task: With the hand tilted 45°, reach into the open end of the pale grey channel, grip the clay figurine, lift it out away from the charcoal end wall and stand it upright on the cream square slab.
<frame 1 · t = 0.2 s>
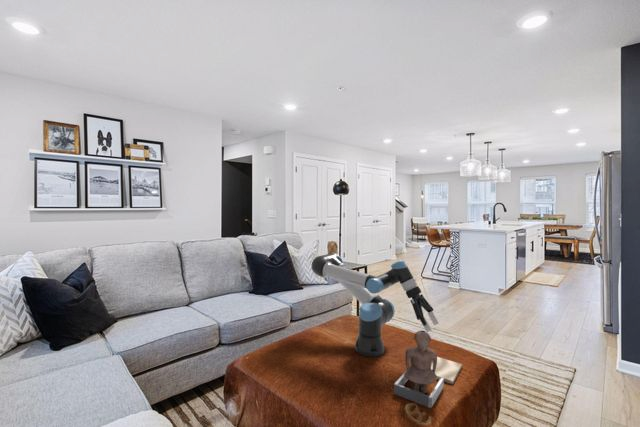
hand: (433, 327, 160), 15 cm above the table, tool tilted 35°, fingers open, 13 cm apart
grey channel: (419, 390, 133), on the table
clay figurine: (419, 390, 133), on the table
cream square slab: (439, 369, 149), on the table
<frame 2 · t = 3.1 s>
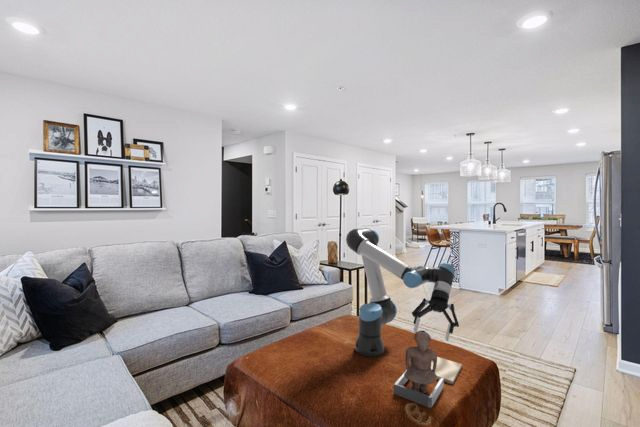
hand: (430, 335, 138), 21 cm above the table, tool tilted 45°, fingers open, 13 cm apart
nothing on the table moved.
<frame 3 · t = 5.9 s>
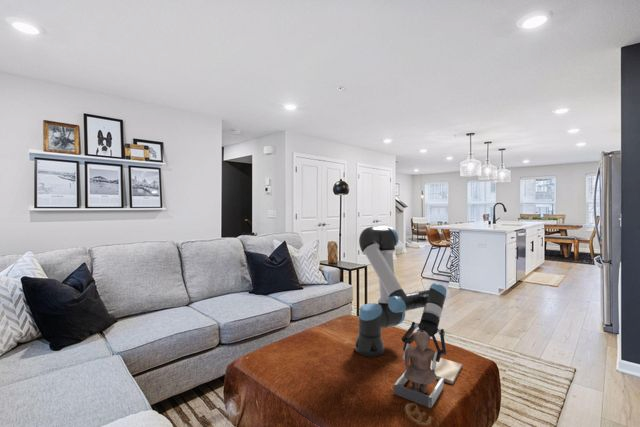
hand: (418, 364, 130), 12 cm above the table, tool tilted 45°, fingers closed on clay figurine, 11 cm apart
clay figurine: (419, 390, 133), on the table, touching gripper
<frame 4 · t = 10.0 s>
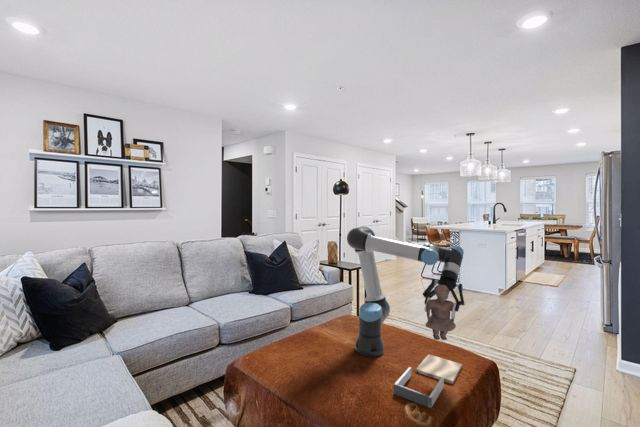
hand: (438, 313, 144), 28 cm above the table, tool tilted 45°, fingers closed on clay figurine, 11 cm apart
clay figurine: (439, 338, 147), point 16 cm above the table, touching gripper
when the fingers open (15 cm above the table, at t = 14.1 s): clay figurine drops 1 cm, resting on cream square slab.
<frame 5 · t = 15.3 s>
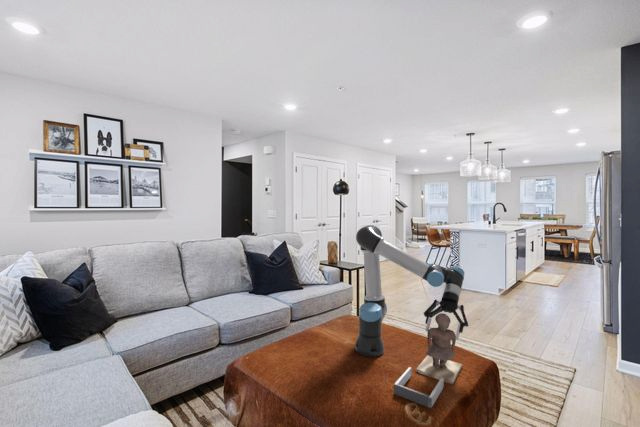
hand: (441, 334, 148), 17 cm above the table, tool tilted 45°, fingers open, 13 cm apart
clay figurine: (439, 366, 149), point 1 cm above the table, touching cream square slab
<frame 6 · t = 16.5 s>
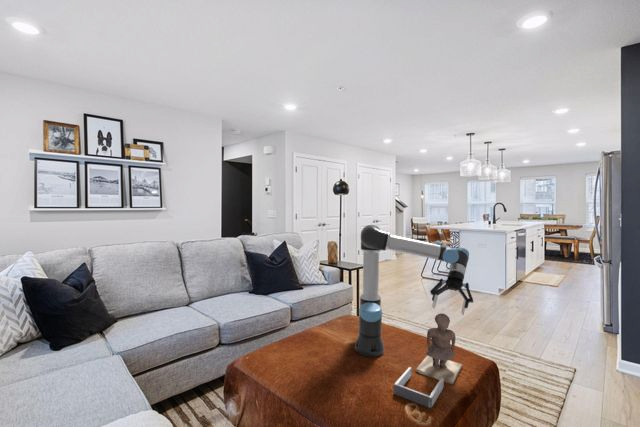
hand: (447, 310, 155), 26 cm above the table, tool tilted 45°, fingers open, 13 cm apart
nothing on the table moved.
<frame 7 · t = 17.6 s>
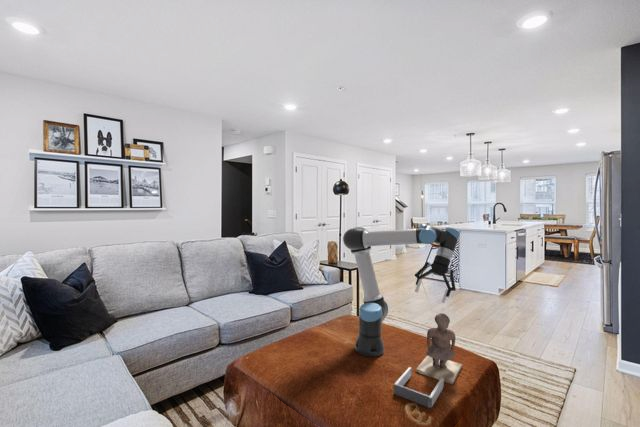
hand: (429, 297, 158), 31 cm above the table, tool tilted 25°, fingers open, 13 cm apart
nothing on the table moved.
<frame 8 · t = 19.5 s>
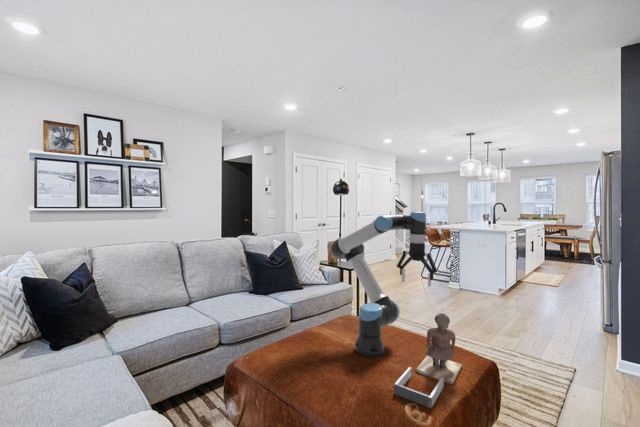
hand: (415, 283, 162), 37 cm above the table, tool pointing down, fingers open, 13 cm apart
nothing on the table moved.
at the end: clay figurine inside the target area (0.1 cm from its centre), point 1.3 cm above the table; clay figurine tilted 0°; the gripper is holding nothing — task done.
